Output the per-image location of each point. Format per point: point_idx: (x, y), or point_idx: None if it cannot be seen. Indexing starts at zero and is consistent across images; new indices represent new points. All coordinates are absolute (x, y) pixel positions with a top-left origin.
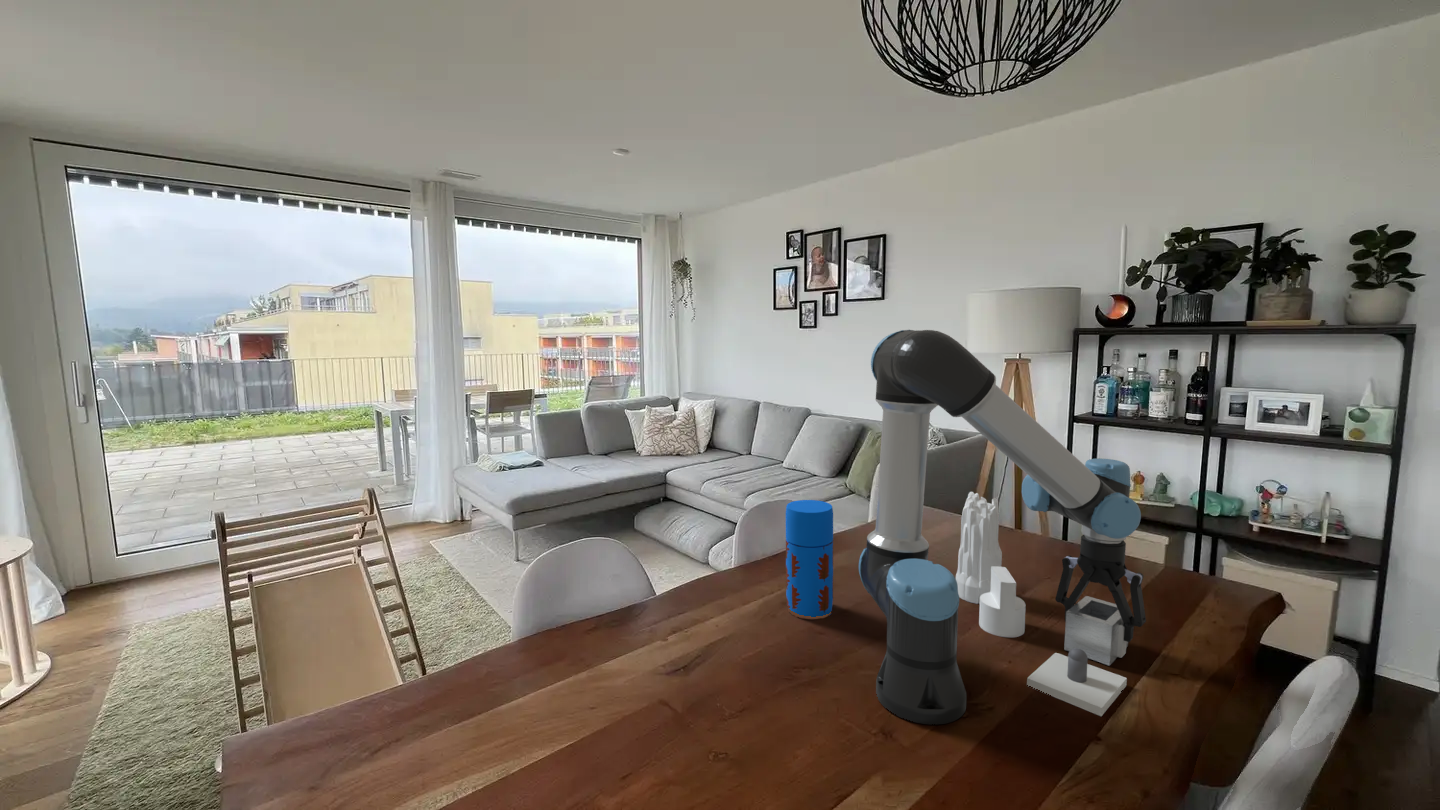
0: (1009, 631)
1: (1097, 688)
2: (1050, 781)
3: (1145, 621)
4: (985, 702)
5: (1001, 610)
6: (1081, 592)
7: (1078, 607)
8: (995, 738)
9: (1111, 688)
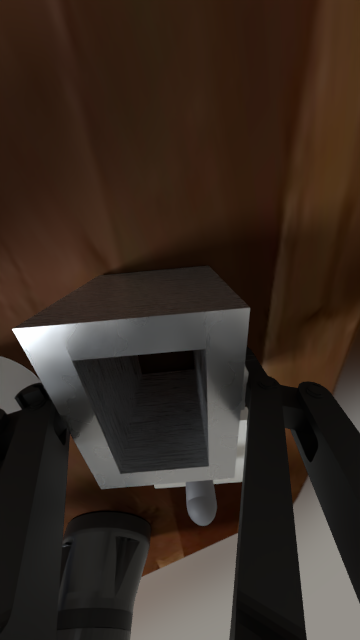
0: None
1: None
2: (233, 526)
3: (325, 392)
4: (148, 507)
5: None
6: (52, 504)
7: (99, 452)
8: (184, 523)
9: (241, 451)
